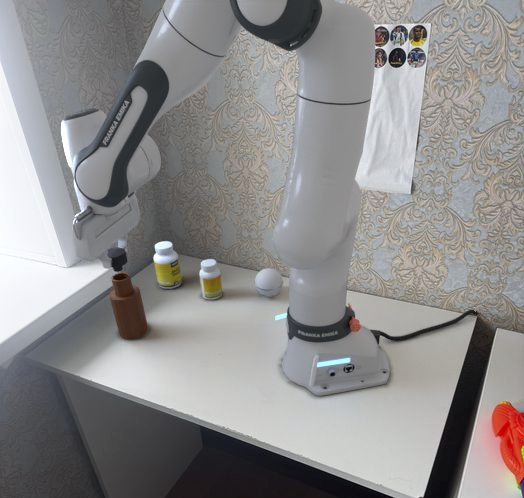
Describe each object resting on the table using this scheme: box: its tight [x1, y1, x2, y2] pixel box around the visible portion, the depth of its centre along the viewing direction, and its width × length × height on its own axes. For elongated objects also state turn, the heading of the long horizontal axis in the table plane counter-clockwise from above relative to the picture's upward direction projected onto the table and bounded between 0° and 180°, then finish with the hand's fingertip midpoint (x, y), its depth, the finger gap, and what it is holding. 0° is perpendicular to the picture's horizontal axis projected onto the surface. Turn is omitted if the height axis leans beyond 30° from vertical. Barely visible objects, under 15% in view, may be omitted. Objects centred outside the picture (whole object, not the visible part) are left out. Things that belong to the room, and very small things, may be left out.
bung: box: [107, 246, 129, 273], centre depth 109 cm, size 5×5×4 cm
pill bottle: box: [152, 240, 183, 290], centre depth 134 cm, size 6×6×12 cm
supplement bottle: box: [198, 258, 223, 301], centre depth 129 cm, size 5×5×10 cm
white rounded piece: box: [254, 267, 289, 298], centre depth 128 cm, size 10×7×7 cm
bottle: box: [108, 271, 149, 341], centre depth 116 cm, size 7×7×15 cm
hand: (116, 260), depth 108 cm, fingers closed on bung, 5 cm apart
